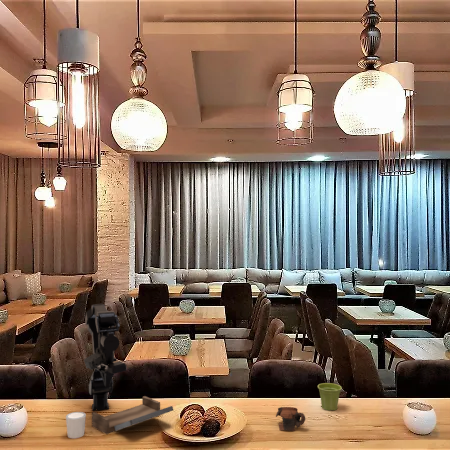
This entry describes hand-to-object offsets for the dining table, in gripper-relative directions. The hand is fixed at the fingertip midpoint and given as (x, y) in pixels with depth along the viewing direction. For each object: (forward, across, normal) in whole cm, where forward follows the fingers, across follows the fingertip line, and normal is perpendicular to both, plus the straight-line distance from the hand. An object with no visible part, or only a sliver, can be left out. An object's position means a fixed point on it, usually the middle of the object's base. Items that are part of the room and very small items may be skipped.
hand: (106, 386), depth 187 cm
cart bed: (+13, +6, +5) cm, 15 cm away
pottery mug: (+13, +54, +44) cm, 70 cm away
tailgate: (+11, +11, +5) cm, 16 cm away
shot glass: (+13, +3, -14) cm, 20 cm away
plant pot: (+13, +54, +69) cm, 89 cm away
